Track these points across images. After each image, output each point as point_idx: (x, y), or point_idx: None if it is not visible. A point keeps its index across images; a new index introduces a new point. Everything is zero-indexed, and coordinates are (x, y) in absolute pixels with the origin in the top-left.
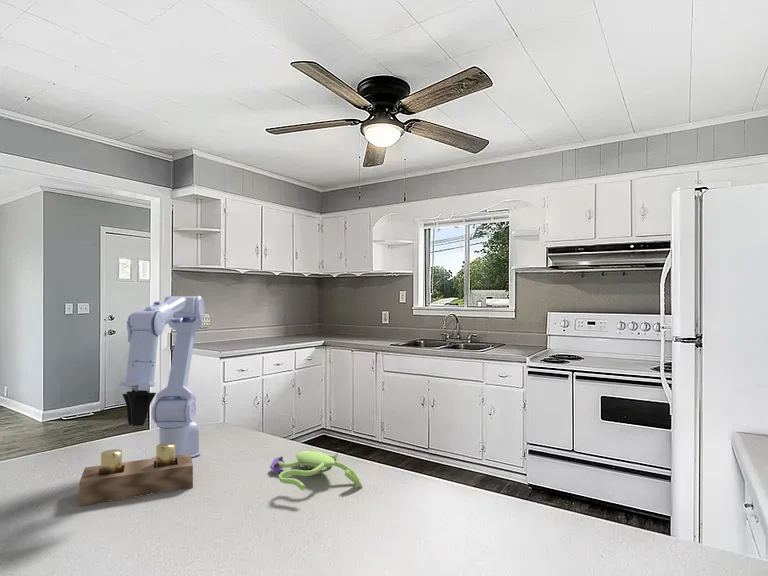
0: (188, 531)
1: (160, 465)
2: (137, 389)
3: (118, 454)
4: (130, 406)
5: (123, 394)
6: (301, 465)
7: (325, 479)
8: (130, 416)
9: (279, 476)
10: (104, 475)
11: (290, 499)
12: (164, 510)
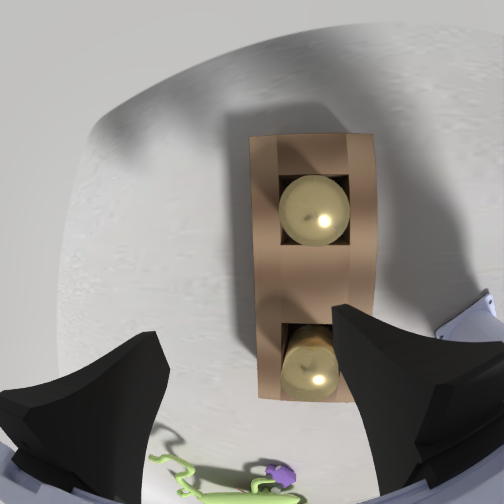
0: (111, 329)
1: (292, 338)
2: (43, 475)
3: (291, 236)
4: (373, 369)
5: (444, 386)
6: (272, 488)
7: (221, 484)
8: (346, 333)
9: (173, 459)
10: (275, 194)
11: (172, 443)
12: (179, 311)
